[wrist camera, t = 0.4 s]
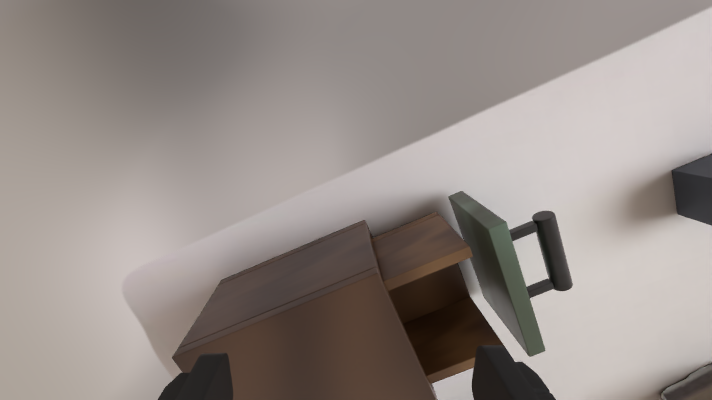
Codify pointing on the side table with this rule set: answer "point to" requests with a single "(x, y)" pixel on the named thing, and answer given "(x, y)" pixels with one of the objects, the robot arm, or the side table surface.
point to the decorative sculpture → (692, 387)
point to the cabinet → (310, 327)
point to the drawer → (448, 289)
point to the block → (694, 189)
